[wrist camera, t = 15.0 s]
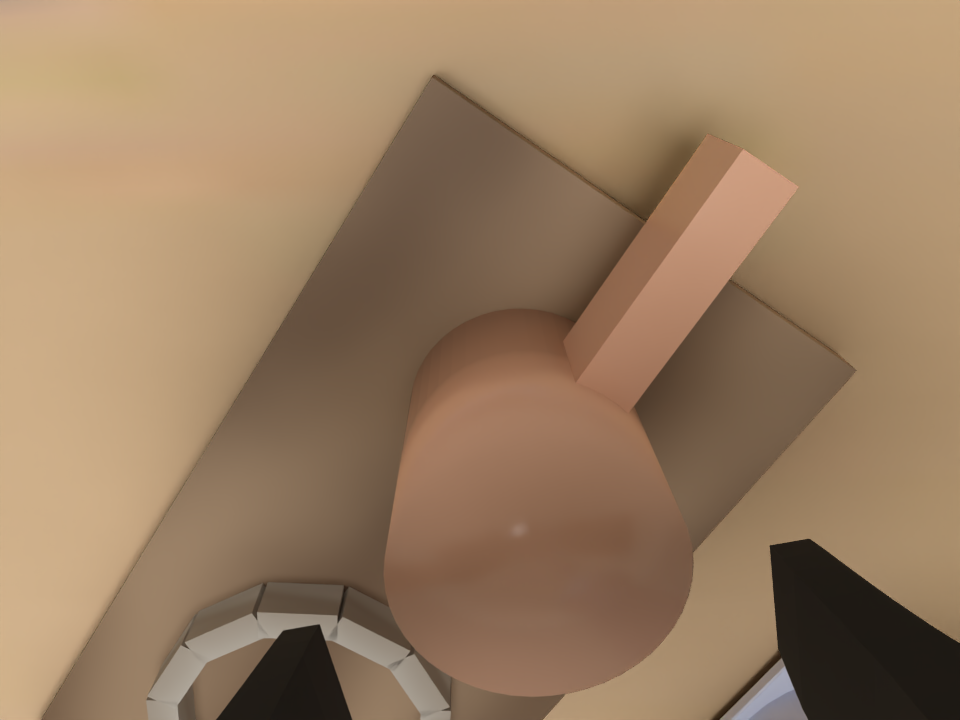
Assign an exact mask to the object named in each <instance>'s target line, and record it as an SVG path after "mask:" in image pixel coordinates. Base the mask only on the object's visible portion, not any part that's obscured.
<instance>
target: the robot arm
mask: <svg viewBox="0 0 960 720" xmlns="http://www.w3.org/2000/svg"><path fill="white" fill-rule="evenodd" d="M770 554H771V566H772V579H773V591H774V603H775V616H776V628H777V640H778V650H779V652H780V655H781V657H782V658H781V659H780V660H779V661H778V662H777V663H776V664H775V665H774V666H773V667H772V668H771V669H770V670H769V671H768V672H767V673H766V674H765V675H764V676H763V677H762V678H761V679H760V680H759V681H758V682H757V683H756V684H755V685H754V686H753V687H752V688H751V689H750V690H749V691H748V692H747V693H746V694H745V695H744V696H743V697H742V698H741V699H740V700H739V701H738V702H737V703H736V704H735V705H734V706H733V707H732V708H731V709H730V710H729V711H728V712H727V713H726V714H725V715H724V716H723V717H722V718H721V719H720V720H960V643H958V642H957V641H955V640H953V639H952V638H950V637H948V636H947V635H945V634H944V633H942V632H940V631H939V630H937V629H936V628H934V627H933V626H931V625H930V624H928V623H927V622H925V621H924V620H922V619H921V618H919V617H918V616H916V615H915V614H913V613H912V612H910V611H909V610H907V609H906V608H905V607H903V606H902V605H900V604H899V603H897V602H896V601H894V600H893V599H891V598H890V597H889V596H887V595H886V594H884V593H883V592H882V591H880V590H879V589H877V588H876V587H875V586H873V585H872V584H870V583H869V582H868V581H866V580H865V579H864V578H862V577H861V576H859V575H858V574H857V573H855V572H854V571H853V570H851V569H850V568H849V567H847V566H846V565H845V564H843V563H842V562H841V561H839V560H838V559H837V558H835V557H834V556H833V555H831V554H830V553H829V552H827V551H826V550H824V549H823V548H822V547H820V546H819V545H818V544H816V543H815V542H813V541H812V540H811V539H805V540H799V541H793V542H788V543H782V544H776V545H770ZM216 720H352V717H351V714H350V712H349V709H348V706H347V703H346V700H345V697H344V694H343V691H342V688H341V685H340V682H339V679H338V676H337V673H336V671H335V668H334V665H333V662H332V659H331V656H330V653H329V650H328V647H327V644H326V641H325V638H324V635H323V632H322V629H321V627H320V624H317V625H311V626H305V627H300V628H294V629H288V630H283V631H282V632H281V634H280V635H279V636H278V638H277V639H276V640H275V642H274V643H273V644H272V646H271V647H270V648H269V650H268V651H267V652H266V654H265V655H264V656H263V658H262V659H261V660H260V662H259V663H258V664H257V666H256V667H255V668H254V670H253V671H252V673H251V674H250V675H249V677H248V678H247V679H246V681H245V682H244V683H243V685H242V686H241V687H240V689H239V690H238V691H237V693H236V694H235V695H234V697H233V698H232V699H231V701H230V702H229V703H228V705H227V706H226V707H225V709H224V710H223V711H222V713H221V714H220V715H219V716H218V718H217V719H216Z"/></svg>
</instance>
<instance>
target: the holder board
mask: <svg viewBox="0 0 960 720" xmlns="http://www.w3.org/2000/svg"><path fill="white" fill-rule="evenodd" d="M645 223H646V221H644V220H643V219H642V218H640V217H639V216H637V215H636V214H634V213H633V212H631V211H630V210H629V209H627V208H626V207H624V206H623V205H621V204H620V203H618V202H617V201H616V200H614V199H613V198H611V197H610V196H608V195H607V194H605V193H604V192H603V191H601V190H600V189H598V188H597V187H595V186H594V185H592V184H591V183H590V182H588V181H587V180H585V179H584V178H582V177H581V176H579V175H578V174H577V173H575V172H574V171H572V170H571V169H569V168H568V167H566V166H565V165H564V164H562V163H561V162H559V161H558V160H556V159H555V158H553V157H552V156H551V155H549V154H548V153H546V152H545V151H543V150H542V149H540V148H539V147H538V146H536V145H535V144H533V143H532V142H530V141H529V140H527V139H526V138H525V137H523V136H522V135H520V134H519V133H517V132H516V131H514V130H513V129H512V128H510V127H509V126H507V125H506V124H504V123H503V122H501V121H500V120H499V119H497V118H496V117H494V116H493V115H491V114H490V113H488V112H487V111H486V110H484V109H483V108H481V107H480V106H478V105H477V104H475V103H474V102H472V101H471V100H470V99H468V98H467V97H465V96H464V95H462V94H461V93H459V92H458V91H457V90H455V89H454V88H452V87H451V86H449V85H448V84H446V83H445V82H444V81H442V80H441V79H439V78H438V77H436V76H435V75H433V77H432V78H431V80H430V82H429V83H428V85H427V87H426V88H425V90H424V92H423V93H422V95H421V96H420V98H419V100H418V101H417V103H416V105H415V106H414V108H413V110H412V111H411V113H410V115H409V116H408V118H407V119H406V121H405V123H404V124H403V126H402V128H401V129H400V131H399V133H398V134H397V136H396V138H395V139H394V141H393V142H392V144H391V146H390V147H389V149H388V151H387V152H386V154H385V156H384V157H383V159H382V161H381V162H380V164H379V165H378V167H377V169H376V170H375V172H374V174H373V175H372V177H371V179H370V180H369V182H368V184H367V185H366V187H365V188H364V190H363V192H362V193H361V195H360V197H359V198H358V200H357V202H356V203H355V205H354V207H353V208H352V210H351V211H350V213H349V215H348V216H347V218H346V220H345V221H344V223H343V225H342V226H341V228H340V230H339V231H338V233H337V235H336V236H335V238H334V239H333V241H332V243H331V244H330V246H329V248H328V249H327V251H326V253H325V254H324V256H323V258H322V259H321V261H320V262H319V264H318V266H317V267H316V269H315V271H314V272H313V274H312V276H311V277H310V279H309V281H308V282H307V284H306V285H305V287H304V289H303V290H302V292H301V294H300V295H299V297H298V299H297V300H296V302H295V304H294V305H293V307H292V308H291V310H290V312H289V313H288V315H287V317H286V318H285V320H284V322H283V323H282V325H281V327H280V328H279V330H278V331H277V333H276V335H275V336H274V338H273V340H272V341H271V343H270V345H269V346H268V348H267V350H266V351H265V353H264V354H263V356H262V358H261V359H260V361H259V363H258V364H257V366H256V368H255V369H254V371H253V373H252V374H251V376H250V377H249V379H248V381H247V382H246V384H245V386H244V387H243V389H242V391H241V392H240V394H239V396H238V397H237V399H236V401H235V402H234V404H233V405H232V407H231V409H230V410H229V412H228V414H227V415H226V417H225V419H224V420H223V422H222V424H221V425H220V427H219V428H218V430H217V432H216V433H215V435H214V437H213V438H212V440H211V442H210V443H209V445H208V447H207V448H206V450H205V451H204V453H203V455H202V456H201V458H200V460H199V461H198V463H197V465H196V466H195V468H194V470H193V471H192V473H191V474H190V476H189V478H188V479H187V481H186V483H185V484H184V486H183V488H182V489H181V491H180V493H179V494H178V496H177V497H176V499H175V501H174V502H173V504H172V506H171V507H170V509H169V511H168V512H167V514H166V516H165V517H164V519H163V520H162V522H161V524H160V525H159V527H158V529H157V530H156V532H155V534H154V535H153V537H152V539H151V540H150V542H149V543H148V545H147V547H146V548H145V550H144V552H143V553H142V555H141V557H140V558H139V560H138V562H137V563H136V565H135V567H134V568H133V570H132V571H131V573H130V575H129V576H128V578H127V580H126V581H125V583H124V585H123V586H122V588H121V590H120V591H119V593H118V594H117V596H116V598H115V599H114V601H113V603H112V604H111V606H110V608H109V609H108V611H107V613H106V614H105V616H104V617H103V619H102V621H101V622H100V624H99V626H98V627H97V629H96V631H95V632H94V634H93V636H92V637H91V639H90V640H89V642H88V644H87V645H86V647H85V649H84V650H83V652H82V654H81V655H80V657H79V659H78V660H77V662H76V663H75V665H74V667H73V668H72V670H71V672H70V673H69V675H68V677H67V678H66V680H65V682H64V683H63V685H62V686H61V688H60V690H59V691H58V693H57V695H56V696H55V698H54V700H53V701H52V703H51V705H50V706H49V708H48V709H47V711H46V713H45V714H44V716H43V718H42V719H41V720H216V719H217V718H218V716H219V715H220V714H221V713H222V711H223V710H224V709H225V707H226V706H227V705H228V703H229V702H230V701H231V699H232V698H233V697H234V695H235V694H236V693H237V691H238V690H239V689H240V687H241V686H242V685H243V683H244V682H245V681H246V679H247V678H248V677H249V675H250V674H251V673H252V671H253V670H254V668H255V667H256V666H257V664H258V663H259V662H260V660H261V659H262V658H263V656H264V655H265V654H266V652H267V651H268V650H269V648H270V647H271V646H272V644H273V643H274V642H275V640H276V639H277V638H278V636H279V635H280V634H281V632H282V631H283V630H288V629H294V628H300V627H305V626H311V625H317V624H320V627H321V629H322V632H323V635H324V638H325V641H326V644H327V647H328V650H329V653H330V656H331V659H332V662H333V665H334V668H335V671H336V673H337V676H338V679H339V682H340V685H341V688H342V691H343V694H344V697H345V700H346V703H347V706H348V709H349V712H350V714H351V717H352V720H543V719H544V718H545V716H546V715H547V714H548V713H549V712H550V711H551V710H552V709H553V708H554V706H555V705H556V704H557V703H558V702H559V701H560V700H561V699H562V698H563V696H564V695H565V694H561V695H554V696H539V697H526V696H511V695H505V694H499V693H494V692H490V691H486V690H483V689H479V688H476V687H473V686H471V685H468V684H466V683H463V682H461V681H458V680H457V679H455V678H453V677H451V676H449V675H447V674H446V673H444V672H442V671H441V670H439V669H438V668H436V667H435V666H434V665H432V664H431V663H429V662H428V661H427V660H426V659H425V658H424V657H423V656H422V655H421V654H419V653H418V652H417V651H416V650H415V649H414V647H413V646H412V645H411V644H410V643H409V641H408V640H407V639H406V638H405V636H404V635H403V633H402V632H401V630H400V628H399V627H398V625H397V623H396V621H395V619H394V617H393V614H392V612H391V610H390V607H389V604H388V600H387V596H386V592H385V583H384V560H385V552H386V546H387V540H388V534H389V528H390V521H391V515H392V509H393V503H394V497H395V491H396V484H397V478H398V472H399V466H400V460H401V453H402V447H403V441H404V435H405V429H406V422H407V416H408V410H409V404H410V398H411V393H412V388H413V383H414V381H415V378H416V375H417V372H418V370H419V368H420V366H421V365H422V363H423V361H424V359H425V358H426V356H427V355H428V353H429V352H430V351H431V349H432V348H433V347H434V346H435V345H436V344H437V343H438V342H439V341H440V340H441V339H442V338H443V337H444V336H445V335H447V334H448V333H449V332H450V331H452V330H453V329H454V328H456V327H458V326H459V325H461V324H463V323H464V322H466V321H468V320H471V319H473V318H475V317H477V316H480V315H483V314H487V313H490V312H493V311H499V310H505V309H534V310H541V311H545V312H550V313H554V314H556V315H559V316H562V317H565V318H567V319H569V320H571V321H573V322H575V323H576V322H577V321H578V319H579V318H580V316H581V315H582V313H583V312H584V310H585V309H586V308H587V306H588V305H589V303H590V302H591V300H592V299H593V298H594V296H595V295H596V293H597V292H598V290H599V289H600V287H601V286H602V285H603V283H604V282H605V280H606V279H607V277H608V276H609V275H610V273H611V272H612V270H613V269H614V267H615V266H616V265H617V263H618V262H619V260H620V259H621V257H622V256H623V254H624V253H625V252H626V250H627V249H628V247H629V246H630V244H631V243H632V242H633V240H634V239H635V237H636V236H637V234H638V233H639V232H640V230H641V229H642V227H643V226H644V224H645ZM856 371H857V370H855V369H854V368H853V367H852V366H851V365H850V364H849V363H847V362H846V361H845V360H844V359H843V358H842V357H841V356H839V355H838V354H837V353H835V352H834V351H832V350H831V349H829V348H828V347H827V346H825V345H824V344H822V343H821V342H819V341H818V340H816V339H815V338H814V337H812V336H811V335H809V334H808V333H806V332H805V331H803V330H802V329H801V328H799V327H798V326H796V325H795V324H793V323H792V322H790V321H789V320H788V319H786V318H785V317H783V316H782V315H780V314H779V313H777V312H776V311H775V310H773V309H772V308H770V307H769V306H767V305H766V304H764V303H763V302H762V301H760V300H759V299H757V298H756V297H754V296H753V295H751V294H750V293H749V292H747V291H746V290H744V289H743V288H741V287H740V286H738V285H737V284H736V283H734V282H733V281H731V280H730V279H729V280H728V282H727V283H726V284H725V286H724V287H723V288H722V290H721V291H720V292H719V294H718V295H717V296H716V298H715V299H714V300H713V302H712V303H711V304H710V306H709V307H708V308H707V310H706V311H705V312H704V314H703V315H702V316H701V318H700V319H699V320H698V322H697V323H696V324H695V326H694V327H693V328H692V330H691V331H690V332H689V334H688V335H687V336H686V338H685V339H684V340H683V341H682V343H681V344H680V345H679V347H678V348H677V349H676V351H675V352H674V353H673V355H672V356H671V357H670V359H669V360H668V361H667V363H666V364H665V365H664V367H663V368H662V369H661V371H660V372H659V373H658V375H657V376H656V377H655V379H654V380H653V381H652V383H651V384H650V385H649V387H648V388H647V389H646V391H645V392H644V393H643V395H642V396H641V397H640V399H639V400H638V401H637V403H636V404H635V405H634V407H635V409H636V412H637V414H638V416H639V419H640V421H641V423H642V425H643V428H644V430H645V432H646V434H647V437H648V439H649V441H650V444H651V446H652V448H653V450H654V453H655V455H656V457H657V460H658V462H659V464H660V466H661V469H662V471H663V473H664V476H665V478H666V480H667V482H668V485H669V487H670V489H671V491H672V494H673V496H674V498H675V501H676V503H677V505H678V507H679V510H680V512H681V514H682V517H683V519H684V521H685V524H686V526H687V528H688V532H689V536H690V540H691V544H692V551H693V552H694V551H695V550H696V549H697V547H698V546H699V545H700V544H701V543H702V542H703V541H704V540H705V539H706V537H707V536H708V535H709V534H710V533H711V532H712V531H713V530H714V529H715V527H716V526H717V525H718V524H719V523H720V522H721V521H722V520H723V519H724V517H725V516H726V515H727V514H728V513H729V512H730V511H731V510H732V509H733V507H734V506H735V505H736V504H737V503H738V502H739V501H740V500H741V499H742V497H743V496H744V495H745V494H746V493H747V492H748V491H749V490H750V489H751V487H752V486H753V485H754V484H755V483H756V482H757V481H758V480H759V479H760V477H761V476H762V475H763V474H764V473H765V472H766V471H767V470H768V469H769V467H770V466H771V465H772V464H773V463H774V462H775V461H776V460H777V459H778V457H779V456H780V455H781V454H782V453H783V452H784V451H785V450H786V449H787V447H788V446H789V445H790V444H791V443H792V442H793V441H794V440H795V439H796V437H797V436H798V435H799V434H800V433H801V432H802V431H803V430H804V429H805V427H806V426H807V425H808V424H809V423H810V422H811V421H812V420H813V419H814V417H815V416H816V415H817V414H818V413H819V412H820V411H821V410H822V409H823V407H824V406H825V405H826V404H827V403H828V402H829V401H830V400H831V399H832V397H833V396H834V395H835V394H836V393H837V392H838V391H839V390H840V389H841V387H842V386H843V385H844V384H845V383H846V382H847V381H848V380H849V379H850V377H851V376H852V375H853V374H854V373H855V372H856Z"/></svg>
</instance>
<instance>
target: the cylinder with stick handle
mask: <svg viewBox="0 0 960 720" xmlns="http://www.w3.org/2000/svg"><path fill="white" fill-rule="evenodd" d="M798 188H799V187H798V186H797V185H795V184H794V183H792V182H791V181H789V180H788V179H787V178H785V177H784V176H782V175H781V174H779V173H778V172H776V171H775V170H773V169H772V168H770V167H769V166H768V165H766V164H765V163H763V162H762V161H760V160H759V159H757V158H756V157H754V156H753V155H751V154H750V153H749V152H747V151H746V150H744V149H742V148H740V147H738V146H735V145H733V144H731V143H728V142H726V141H724V140H721V139H719V138H717V137H714V136H712V135H710V134H707V135H706V137H705V138H704V140H703V141H702V143H701V144H700V145H699V147H698V148H697V150H696V151H695V153H694V154H693V155H692V157H691V158H690V160H689V161H688V163H687V164H686V165H685V167H684V168H683V170H682V171H681V173H680V174H679V176H678V177H677V178H676V180H675V181H674V183H673V184H672V186H671V187H670V188H669V190H668V191H667V193H666V194H665V196H664V197H663V199H662V200H661V201H660V203H659V204H658V206H657V207H656V209H655V210H654V211H653V213H652V214H651V216H650V217H649V219H648V220H647V221H646V223H645V224H644V226H643V227H642V229H641V230H640V232H639V233H638V234H637V236H636V237H635V239H634V240H633V242H632V243H631V244H630V246H629V247H628V249H627V250H626V252H625V253H624V254H623V256H622V257H621V259H620V260H619V262H618V263H617V265H616V266H615V267H614V269H613V270H612V272H611V273H610V275H609V276H608V277H607V279H606V280H605V282H604V283H603V285H602V286H601V287H600V289H599V290H598V292H597V293H596V295H595V296H594V298H593V299H592V300H591V302H590V303H589V305H588V306H587V308H586V309H585V310H584V312H583V313H582V315H581V316H580V318H579V319H578V321H577V322H576V323H575V322H573V321H571V320H569V319H567V318H565V317H562V316H559V315H556V314H554V313H550V312H545V311H541V310H534V309H505V310H499V311H493V312H490V313H487V314H483V315H480V316H477V317H475V318H473V319H471V320H468V321H466V322H464V323H463V324H461V325H459V326H458V327H456V328H454V329H453V330H452V331H450V332H449V333H448V334H447V335H445V336H444V337H443V338H442V339H441V340H440V341H439V342H438V343H437V344H436V345H435V346H434V347H433V348H432V349H431V351H430V352H429V353H428V355H427V356H426V358H425V359H424V361H423V363H422V365H421V366H420V368H419V370H418V372H417V375H416V378H415V381H414V383H413V388H412V393H411V398H410V404H409V410H408V416H407V422H406V429H405V435H404V441H403V447H402V453H401V460H400V466H399V472H398V478H397V484H396V491H395V497H394V503H393V509H392V515H391V521H390V528H389V534H388V540H387V546H386V552H385V560H384V583H385V592H386V596H387V600H388V604H389V607H390V610H391V612H392V614H393V617H394V619H395V621H396V623H397V625H398V627H399V628H400V630H401V632H402V633H403V635H404V636H405V638H406V639H407V640H408V641H409V643H410V644H411V645H412V646H413V647H414V649H415V650H416V651H417V652H418V653H419V654H421V655H422V656H423V657H424V658H425V659H426V660H427V661H428V662H429V663H431V664H432V665H434V666H435V667H436V668H438V669H439V670H441V671H442V672H444V673H446V674H447V675H449V676H451V677H453V678H455V679H457V680H458V681H461V682H463V683H466V684H468V685H471V686H473V687H476V688H479V689H483V690H486V691H490V692H494V693H499V694H505V695H511V696H526V697H539V696H554V695H561V694H568V693H572V692H576V691H580V690H584V689H588V688H591V687H594V686H596V685H599V684H602V683H605V682H607V681H609V680H611V679H613V678H615V677H617V676H619V675H621V674H623V673H624V672H626V671H627V670H629V669H631V668H632V667H634V666H635V665H637V664H638V663H639V662H641V661H642V660H643V659H644V658H646V657H647V656H648V655H649V654H651V653H652V652H653V651H654V650H655V649H656V648H657V647H658V646H659V645H660V644H661V643H662V642H663V640H664V639H665V638H666V636H667V635H668V634H669V633H670V631H671V630H672V629H673V627H674V626H675V624H676V622H677V620H678V619H679V617H680V615H681V613H682V611H683V609H684V606H685V604H686V601H687V599H688V596H689V592H690V587H691V583H692V576H693V551H692V544H691V540H690V536H689V532H688V528H687V526H686V524H685V521H684V519H683V517H682V514H681V512H680V510H679V507H678V505H677V503H676V501H675V498H674V496H673V494H672V491H671V489H670V487H669V485H668V482H667V480H666V478H665V476H664V473H663V471H662V469H661V466H660V464H659V462H658V460H657V457H656V455H655V453H654V450H653V448H652V446H651V444H650V441H649V439H648V437H647V434H646V432H645V430H644V428H643V425H642V423H641V421H640V419H639V416H638V414H637V412H636V409H635V407H634V405H635V404H636V403H637V401H638V400H639V399H640V397H641V396H642V395H643V393H644V392H645V391H646V389H647V388H648V387H649V385H650V384H651V383H652V381H653V380H654V379H655V377H656V376H657V375H658V373H659V372H660V371H661V369H662V368H663V367H664V365H665V364H666V363H667V361H668V360H669V359H670V357H671V356H672V355H673V353H674V352H675V351H676V349H677V348H678V347H679V345H680V344H681V343H682V341H683V340H684V339H685V338H686V336H687V335H688V334H689V332H690V331H691V330H692V328H693V327H694V326H695V324H696V323H697V322H698V320H699V319H700V318H701V316H702V315H703V314H704V312H705V311H706V310H707V308H708V307H709V306H710V304H711V303H712V302H713V300H714V299H715V298H716V296H717V295H718V294H719V292H720V291H721V290H722V288H723V287H724V286H725V284H726V283H727V282H728V280H729V279H730V278H731V276H732V275H733V274H734V272H735V271H736V270H737V269H738V267H739V266H740V265H741V263H742V262H743V261H744V259H745V258H746V257H747V255H748V254H749V253H750V251H751V250H752V249H753V247H754V246H755V245H756V243H757V242H758V241H759V239H760V238H761V237H762V235H763V234H764V233H765V231H766V230H767V229H768V227H769V226H770V225H771V223H772V222H773V221H774V219H775V218H776V217H777V215H778V214H779V213H780V211H781V210H782V209H783V207H784V206H785V205H786V204H787V202H788V201H789V200H790V198H791V197H792V196H793V194H794V193H795V192H796V190H797V189H798Z"/></svg>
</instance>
